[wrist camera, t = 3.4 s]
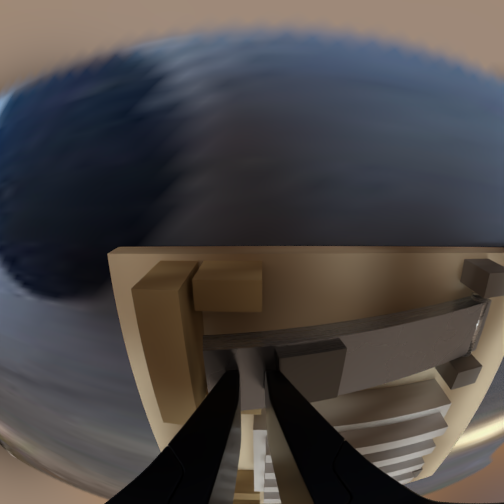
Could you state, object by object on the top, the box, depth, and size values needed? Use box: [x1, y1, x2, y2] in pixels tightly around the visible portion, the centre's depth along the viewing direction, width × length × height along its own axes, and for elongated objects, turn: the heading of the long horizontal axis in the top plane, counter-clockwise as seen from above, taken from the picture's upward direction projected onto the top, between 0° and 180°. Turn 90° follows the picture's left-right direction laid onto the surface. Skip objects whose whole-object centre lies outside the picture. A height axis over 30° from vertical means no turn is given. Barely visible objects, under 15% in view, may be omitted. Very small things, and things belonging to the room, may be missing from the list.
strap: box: [203, 292, 492, 411], centre depth 9 cm, size 12×3×1 cm, turn 90°
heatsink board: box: [107, 246, 504, 504], centre depth 11 cm, size 20×19×4 cm
